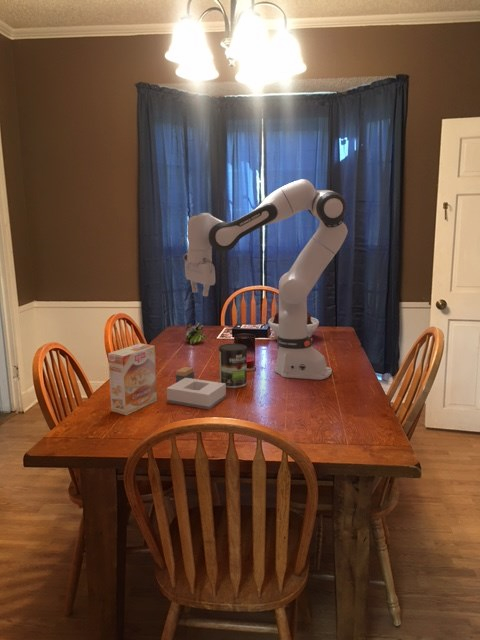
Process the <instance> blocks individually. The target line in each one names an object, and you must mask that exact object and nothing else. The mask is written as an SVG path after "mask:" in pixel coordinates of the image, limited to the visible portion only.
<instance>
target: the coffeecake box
mask: <svg viewBox="0 0 480 640" xmlns="http://www.w3.org/2000/svg"><path fill="white" fill-rule="evenodd" d="M155 349H156V347H155V345H151V344H148V343H147V344H146V343H141V342H140V343H136V344H134V345H133V344H132V345H130V346H127V347H125V348H121V349H118V350H114V351H111V352H109V353H107V361H108V374H109V395H110V407H111V409H110V410H111V412H113V413H117V414H120V415H124V416H128V415H130V414H132V413H134V412H136V411H138V410H140V409H143V408H145V407H147V406H149V405H151V404H154V403H156V402H157V401H158V396H157V395H158V394H157V392H158V391H157V375H156V374H157V371H156V370H157V368H156V352H155V351H156V350H155Z"/></svg>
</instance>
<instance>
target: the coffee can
mask: <svg viewBox="0 0 480 640" xmlns="http://www.w3.org/2000/svg"><path fill="white" fill-rule="evenodd" d="M247 349H248V347H247V346H246V345H245V344H241V343H225V344H220V345H219V346H218V351H219V352H218V356H219V357H218V358H219V359H218V361H219V363H218V365H219V383H226V389H227V388H229V389H237V388H242V387H245V386H247V385H248V379H247V378H248V374H247V372H248V368H247V365H248V363H247V362H248V361H247V358H248V357H247V352H248V351H247Z"/></svg>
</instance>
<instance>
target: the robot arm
mask: <svg viewBox="0 0 480 640" xmlns="http://www.w3.org/2000/svg"><path fill="white" fill-rule="evenodd" d="M346 209H347V204H346V200H345V198H344V197H343V196H342V194H340V193H338V192H336V191H333V190H329V189H315V186H314V184H313V183H311V181H310V180H309V179H305V178H302V179H301V178H300V179H297V180H295V181H293V182H289V183H287V184H285V185H283V186H281V187H279V188H277V189H276V190H274V191H273V192H271V193H269V194H268V195H267V196H266V197H265V198H264V199H263V200H262V201H261V202H260V203H259V205H258V206H257V207H255V208H254V209H253V210H251V211H250V212H248V213H247V214H245V215H243V216H241V217H239V218H238V219H235V220H233V221H229V222H227V221H223V220H221V219H219V218H217V217H215V216H213V215H212V214H211V213H209V212H201V213H196V214H192V215H191V216H190V217H189V218H188V224H187V240H188V247H187V252H186V253H185V254H183V261H184V276H185V278H186V280H188V281H190V285H191V291H192V293H195V294H197V293H199V288H198V286H197V284H201V285H202V286H203V290H202V292H201V293H202V297H209V291H210V289H211V288H210V287H211V286H215V285H216V269H215V265H214V264H213V259H212V257H213V256H212V255H213V251H212V248H213V250H215V251H217V252H221V253H224V252H229V251H230V250H232V249H234V248H235V246H237V244H238V243H239V241H240V240H241V239H242V238H244V237H245V236H247V235H249V234H250V233H252V232H254V231H256V230H258V229H260V228H261V227H263V226H264V227H265V226H266V225H270V224H274V223H278V222H282V221H284V220H287V219H290V218H291V217H293V216H294V215H297V214H299V213H300V212H303V211H308V212H309V213H310V215H312V217H315V218H316V219H317V220H318V221H319V224H318V227H317V229H316V231H315V232H314V234H313V235H312V236H311V238H310V239H309V240H308V242H307V243H306V245H305V246H304V247H303V249H302V250H301V251H300V253H299V255H298V256H297V258H296V259H295V261H294V263H292V265H291V267H290V268H289V270H288V271H287V272H286V273H284V274H283V275H282V276H280V278H279V282H278V312H279V335H278V338H277V342H276V343H277V344H276V345H277V357H276V358H277V359H276V363H275V367H274V372H275V373H276V374H278V375H280V376H281V377H282V378H291V379H303V380H305V379H306V380H324V379H327V378H329V377H330V376H331V375H332V373H333V371H332V368H331V367H329V366H327V360H326V357H325V356H324V355H323V354H322V353H321V352H319V351H318V350H317V348H315V347H313V346H312V344H313V337H310V338H309V337H308V336H307V313H308V309H307V308H308V307H307V305H308V302H307V299H308V296H309V294H310V292H311V291H312V290H313V289H314V286H315V285H316V284H317V282H318V280H319V279H320V277H321V275H322V273H323V272H324V271H325V269H326V268H327V266H328V265H329V264H330V262H331V261H332V260H333V259H334V257H335V255H336V254H337V253H338V252H339V250H340V249H341V247H342V245H343V243H344V242H345V239H346V238H347V235H348V232H349V231H348V227H347V225H346V224H345V223H344V221H345V214H346Z"/></svg>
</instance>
